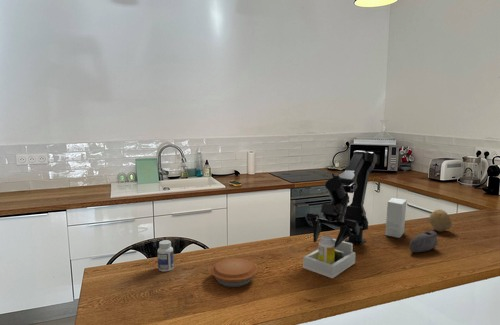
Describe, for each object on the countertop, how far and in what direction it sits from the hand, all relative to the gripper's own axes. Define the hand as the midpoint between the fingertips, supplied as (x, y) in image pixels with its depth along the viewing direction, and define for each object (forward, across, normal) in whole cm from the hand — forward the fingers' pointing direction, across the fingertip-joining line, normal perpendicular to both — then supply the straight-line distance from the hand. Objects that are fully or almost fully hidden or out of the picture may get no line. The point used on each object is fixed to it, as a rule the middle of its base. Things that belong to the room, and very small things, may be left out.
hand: (324, 244), depth 121 cm
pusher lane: (+4, 0, +9) cm, 10 cm away
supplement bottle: (+5, 0, +7) cm, 8 cm away
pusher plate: (+1, +1, +10) cm, 10 cm away
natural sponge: (-41, +26, +54) cm, 73 cm away
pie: (+23, -21, -10) cm, 33 cm away
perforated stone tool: (-20, +25, +34) cm, 46 cm away
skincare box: (-30, +11, +43) cm, 53 cm away
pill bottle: (+29, -45, -16) cm, 56 cm away
